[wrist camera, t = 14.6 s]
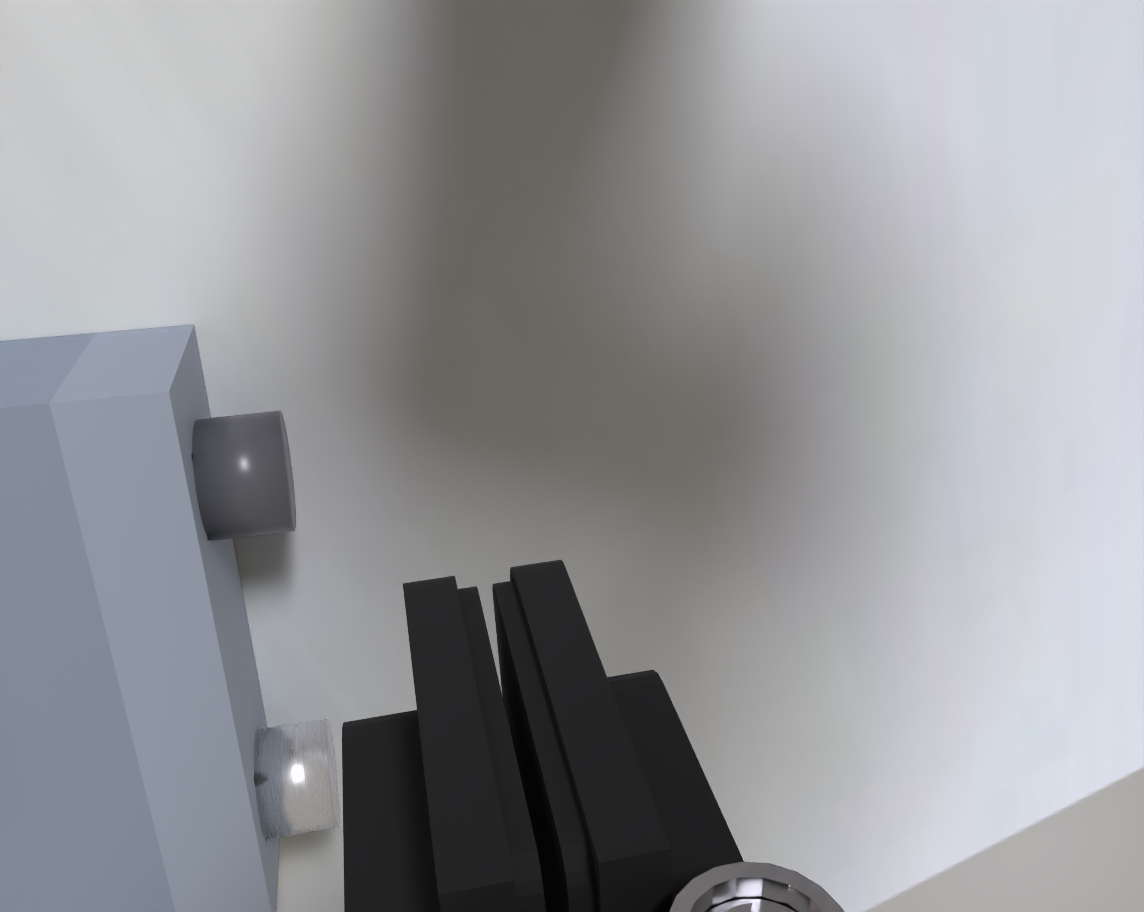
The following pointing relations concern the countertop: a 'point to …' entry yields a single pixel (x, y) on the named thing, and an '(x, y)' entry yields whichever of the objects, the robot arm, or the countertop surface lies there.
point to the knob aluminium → (296, 778)
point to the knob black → (243, 475)
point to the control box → (120, 642)
